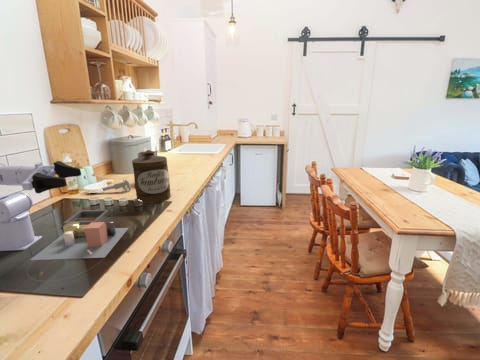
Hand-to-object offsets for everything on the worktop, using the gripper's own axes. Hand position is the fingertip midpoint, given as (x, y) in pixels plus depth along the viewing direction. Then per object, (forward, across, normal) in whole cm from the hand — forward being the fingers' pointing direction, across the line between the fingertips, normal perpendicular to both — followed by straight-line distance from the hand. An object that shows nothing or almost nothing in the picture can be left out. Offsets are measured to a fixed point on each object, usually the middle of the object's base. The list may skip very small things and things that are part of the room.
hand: (73, 177), depth 76 cm
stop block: (+6, -5, +19) cm, 21 cm away
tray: (-6, +12, +23) cm, 27 cm away
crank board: (+2, -4, +21) cm, 21 cm away
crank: (+2, 0, +20) cm, 20 cm away
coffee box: (+1, +67, +30) cm, 73 cm away
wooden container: (+11, +37, +26) cm, 47 cm away
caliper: (-14, +47, +29) cm, 57 cm away
